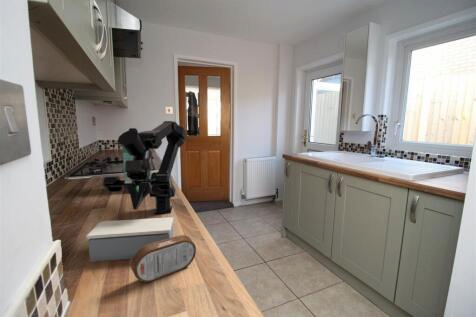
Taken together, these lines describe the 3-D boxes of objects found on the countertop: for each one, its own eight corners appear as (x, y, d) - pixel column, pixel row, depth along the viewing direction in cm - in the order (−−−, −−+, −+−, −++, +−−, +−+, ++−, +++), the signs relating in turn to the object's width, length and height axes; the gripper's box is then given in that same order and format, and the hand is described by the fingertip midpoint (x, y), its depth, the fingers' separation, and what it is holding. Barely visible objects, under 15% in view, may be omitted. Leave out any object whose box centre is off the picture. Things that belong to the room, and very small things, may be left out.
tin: (192, 259, 62) (192, 229, 60) (198, 265, 59) (197, 234, 58) (131, 282, 53) (129, 248, 51) (135, 290, 50) (132, 254, 49)
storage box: (103, 244, 68) (101, 225, 67) (173, 238, 72) (172, 220, 71) (90, 261, 60) (87, 240, 59) (170, 254, 63) (169, 234, 62)
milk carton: (136, 192, 115) (132, 142, 111) (125, 189, 120) (121, 141, 116) (151, 188, 123) (148, 141, 119) (140, 185, 128) (137, 140, 123)
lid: (100, 224, 67) (100, 221, 67) (173, 219, 71) (173, 217, 71) (86, 238, 59) (86, 235, 59) (170, 232, 62) (169, 230, 62)
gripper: (101, 149, 67) (88, 198, 58) (168, 148, 70) (165, 195, 61) (113, 169, 76) (103, 215, 67) (172, 168, 79) (170, 211, 70)
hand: (135, 209), depth 66 cm, fingers closed
